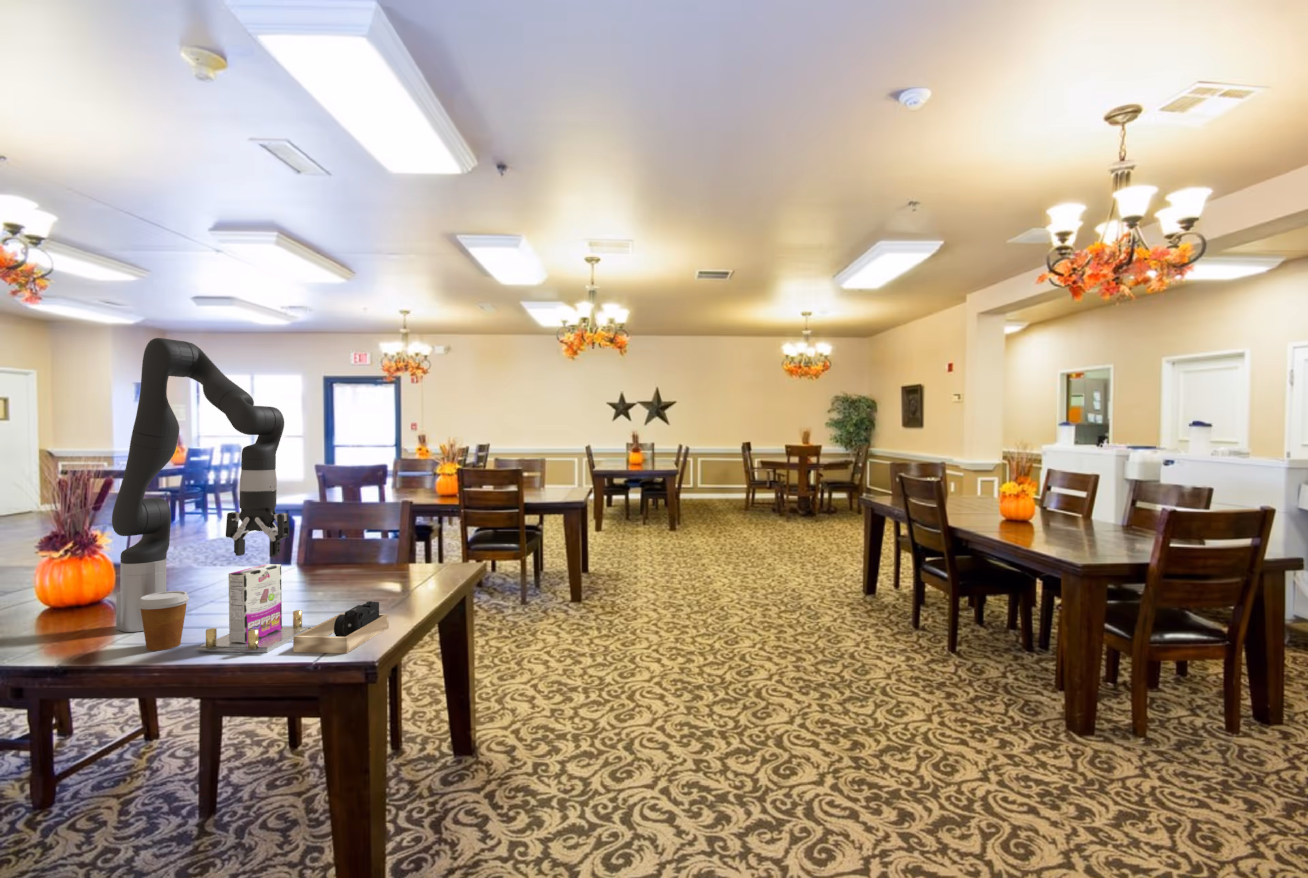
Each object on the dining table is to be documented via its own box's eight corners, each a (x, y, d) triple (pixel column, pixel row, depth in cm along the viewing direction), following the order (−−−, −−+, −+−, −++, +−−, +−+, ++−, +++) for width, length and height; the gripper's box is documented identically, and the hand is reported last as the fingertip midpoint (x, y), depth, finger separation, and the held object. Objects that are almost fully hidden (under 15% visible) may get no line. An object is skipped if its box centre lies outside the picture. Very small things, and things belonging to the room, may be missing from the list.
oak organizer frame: (293, 652, 142) (293, 636, 142) (341, 626, 162) (341, 613, 162) (346, 653, 141) (346, 637, 141) (388, 627, 161) (388, 614, 161)
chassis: (195, 653, 141) (195, 630, 141) (251, 629, 159) (251, 609, 159) (262, 654, 140) (262, 631, 140) (311, 630, 158) (311, 610, 158)
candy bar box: (265, 628, 156) (265, 563, 156) (282, 629, 155) (283, 564, 155) (227, 643, 145) (227, 572, 145) (245, 644, 144) (246, 573, 144)
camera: (356, 628, 161) (356, 597, 161) (383, 628, 161) (383, 597, 161) (326, 646, 147) (326, 612, 147) (356, 646, 146) (357, 612, 147)
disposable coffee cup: (147, 656, 139) (147, 602, 139) (130, 648, 144) (130, 596, 144) (196, 644, 147) (196, 593, 147) (178, 637, 152) (179, 588, 152)
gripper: (218, 489, 146) (217, 558, 146) (276, 490, 146) (275, 559, 146) (241, 486, 154) (240, 552, 154) (296, 488, 153) (295, 553, 153)
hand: (257, 555), depth 150 cm, fingers open, 8 cm apart
